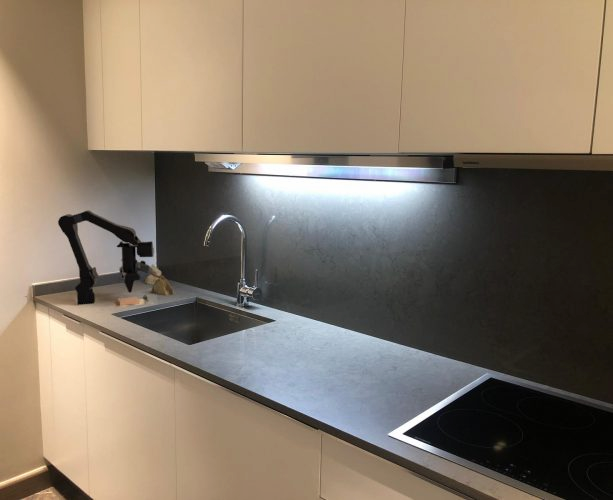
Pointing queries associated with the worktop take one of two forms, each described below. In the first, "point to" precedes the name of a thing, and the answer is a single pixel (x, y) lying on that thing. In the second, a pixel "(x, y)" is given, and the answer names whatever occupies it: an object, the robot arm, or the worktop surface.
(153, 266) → the beige lumpy chunk
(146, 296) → the turner
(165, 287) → the rock
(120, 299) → the picture frame
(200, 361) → the worktop surface
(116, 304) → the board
